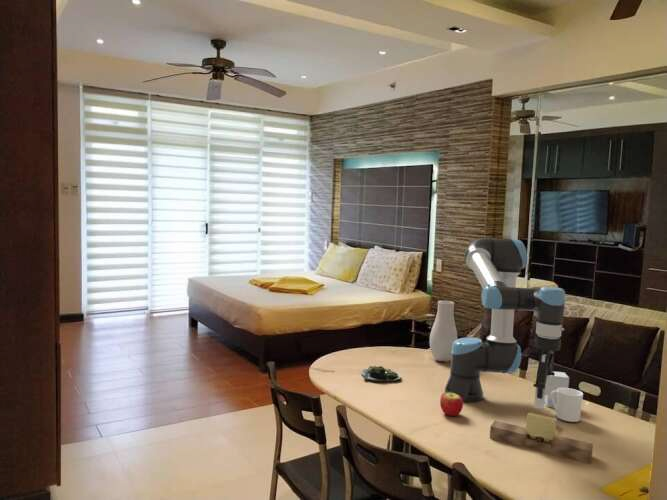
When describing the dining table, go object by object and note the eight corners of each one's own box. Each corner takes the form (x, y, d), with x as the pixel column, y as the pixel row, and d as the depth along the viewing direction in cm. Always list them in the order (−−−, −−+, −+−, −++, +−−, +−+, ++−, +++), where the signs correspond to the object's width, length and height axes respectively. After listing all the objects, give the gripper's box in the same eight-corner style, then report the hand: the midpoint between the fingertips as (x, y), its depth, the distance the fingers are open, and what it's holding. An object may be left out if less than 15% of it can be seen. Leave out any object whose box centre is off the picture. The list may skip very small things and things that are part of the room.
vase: (428, 362, 257) (432, 302, 254) (428, 355, 270) (431, 298, 268) (457, 365, 254) (461, 305, 252) (455, 358, 268) (459, 300, 266)
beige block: (524, 442, 167) (527, 415, 167) (526, 439, 170) (528, 412, 169) (552, 449, 163) (555, 421, 162) (554, 446, 166) (556, 418, 165)
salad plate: (353, 370, 239) (354, 360, 239) (390, 369, 243) (390, 359, 243) (365, 384, 220) (366, 373, 220) (405, 383, 225) (405, 372, 224)
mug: (579, 416, 195) (581, 390, 194) (582, 425, 186) (584, 397, 186) (547, 411, 198) (550, 385, 198) (549, 420, 190) (551, 392, 189)
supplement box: (567, 409, 202) (569, 377, 201) (546, 407, 203) (549, 375, 202) (562, 402, 209) (565, 372, 208) (543, 400, 210) (545, 370, 209)
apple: (447, 408, 196) (449, 382, 196) (467, 415, 190) (468, 388, 190) (434, 413, 191) (436, 387, 190) (454, 421, 185) (456, 393, 184)
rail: (489, 437, 172) (490, 426, 171) (494, 431, 177) (494, 420, 177) (590, 463, 157) (591, 451, 156) (591, 456, 162) (592, 443, 162)
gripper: (555, 346, 151) (549, 416, 153) (565, 330, 173) (560, 392, 175) (528, 342, 155) (522, 410, 157) (542, 326, 177) (536, 387, 179)
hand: (542, 401), depth 166 cm, fingers open, 13 cm apart
